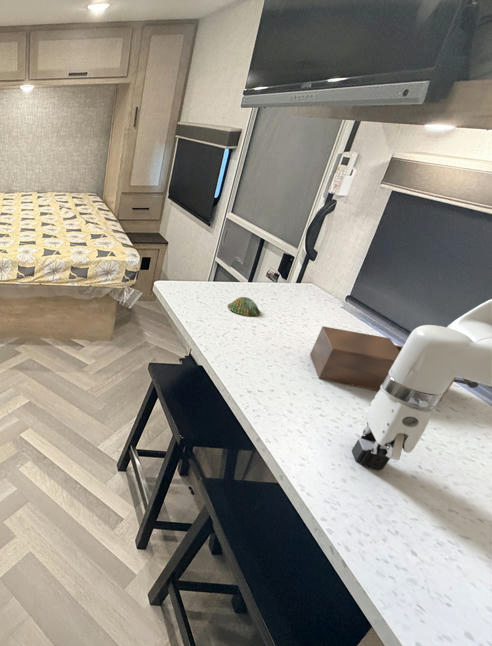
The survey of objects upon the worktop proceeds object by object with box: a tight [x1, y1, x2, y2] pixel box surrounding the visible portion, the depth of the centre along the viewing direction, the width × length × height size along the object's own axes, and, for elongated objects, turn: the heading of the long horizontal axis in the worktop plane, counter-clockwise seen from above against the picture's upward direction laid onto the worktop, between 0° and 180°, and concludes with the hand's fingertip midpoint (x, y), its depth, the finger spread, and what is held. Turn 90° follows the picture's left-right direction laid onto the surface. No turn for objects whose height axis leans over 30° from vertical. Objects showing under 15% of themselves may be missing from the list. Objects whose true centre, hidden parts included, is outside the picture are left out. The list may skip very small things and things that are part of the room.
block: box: [351, 437, 391, 470], centre depth 81 cm, size 4×3×4 cm
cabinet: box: [309, 326, 400, 392], centre depth 105 cm, size 15×13×10 cm
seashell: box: [227, 296, 261, 317], centre depth 140 cm, size 10×4×10 cm
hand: (367, 458), depth 82 cm, fingers closed on block, 3 cm apart
